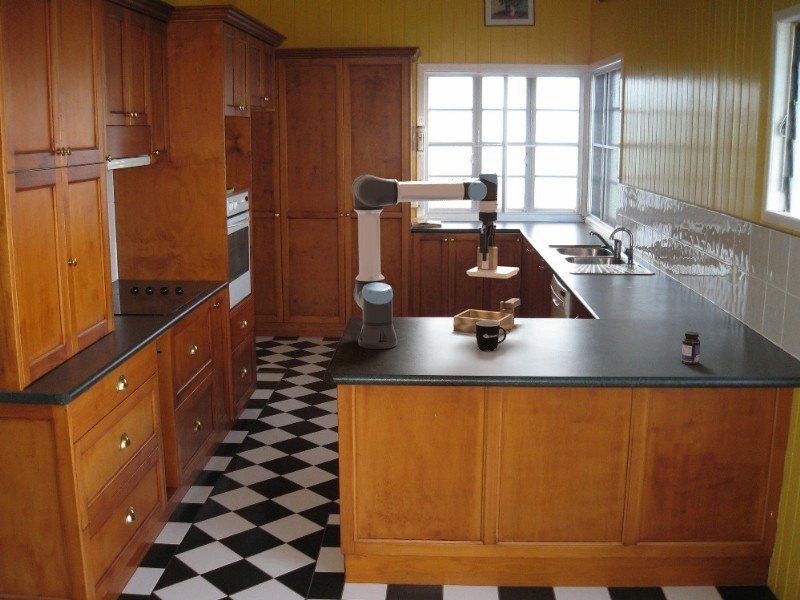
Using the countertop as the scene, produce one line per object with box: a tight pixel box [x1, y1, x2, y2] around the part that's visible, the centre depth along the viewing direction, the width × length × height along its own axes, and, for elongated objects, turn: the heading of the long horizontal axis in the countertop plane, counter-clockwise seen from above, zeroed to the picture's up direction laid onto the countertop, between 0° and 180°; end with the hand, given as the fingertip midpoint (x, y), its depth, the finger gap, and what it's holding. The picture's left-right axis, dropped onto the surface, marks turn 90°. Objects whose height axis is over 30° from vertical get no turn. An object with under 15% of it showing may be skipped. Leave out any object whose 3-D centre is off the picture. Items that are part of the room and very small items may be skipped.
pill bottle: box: [681, 330, 701, 365], centre depth 316 cm, size 6×6×11 cm
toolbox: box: [452, 300, 515, 337], centre depth 369 cm, size 20×18×10 cm
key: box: [503, 297, 521, 310], centre depth 378 cm, size 4×11×2 cm, turn 153°
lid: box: [466, 246, 520, 280], centre depth 362 cm, size 17×16×11 cm
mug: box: [475, 321, 507, 352], centre depth 336 cm, size 12×9×10 cm
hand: (487, 267), depth 363 cm, fingers closed on lid, 4 cm apart
